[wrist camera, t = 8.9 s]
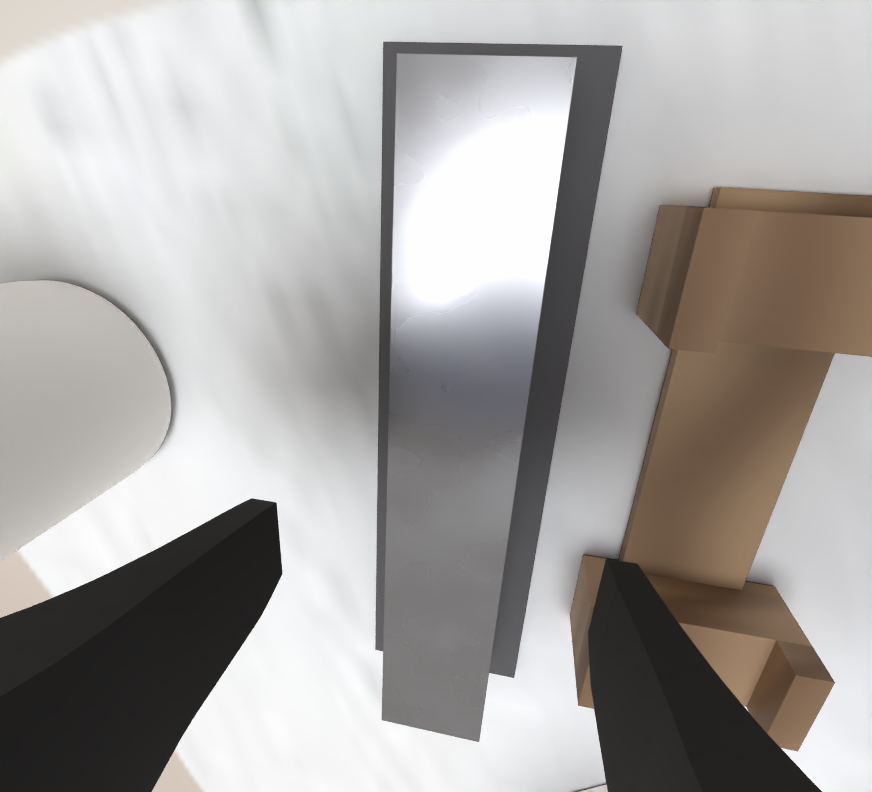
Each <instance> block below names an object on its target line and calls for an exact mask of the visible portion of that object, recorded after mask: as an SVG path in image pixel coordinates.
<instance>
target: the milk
mask: <svg viewBox="0 0 872 792" xmlns="http://www.w3.org/2000/svg"><path fill="white" fill-rule="evenodd" d="M579 792H608V790H607V784H606V785H602V786H598V787H594V788H591V789H587V790H583V791H579Z"/></svg>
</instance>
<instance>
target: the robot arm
mask: <svg viewBox="0 0 872 792" xmlns="http://www.w3.org/2000/svg"><path fill="white" fill-rule="evenodd" d="M281 575H282V564H281V552H280V540H279V528H278V516H277V503H275V502H270V501H264V500H258V499H250V500H247V501H245V502H243V503H241V504H239V505H237V506H235V507H234V508H232V509H230V510H228V511H226V512H224V513H222V514H221V515H219V516H217V517H215V518H213V519H211V520H210V521H208V522H206V523H204V524H202V525H201V526H199V527H197V528H195V529H193V530H191V531H190V532H188V533H186V534H184V535H182V536H180V537H178V538H177V539H175V540H173V541H171V542H169V543H167V544H166V545H164V546H162V547H160V548H158V549H156V550H154V551H152V552H150V553H148V554H146V555H144V556H142V557H140V558H138V559H136V560H134V561H132V562H130V563H128V564H126V565H124V566H122V567H120V568H118V569H116V570H114V571H112V572H110V573H108V574H106V575H104V576H102V577H99V578H97V579H95V580H93V581H91V582H88V583H86V584H84V585H82V586H80V587H77V588H75V589H73V590H70V591H68V592H65V593H63V594H61V595H58V596H56V597H54V598H51V599H49V600H46V601H44V602H42V603H39V604H37V605H34V606H32V607H29V608H27V609H24V610H21V611H18V612H15V613H13V614H10V615H7V616H4V617H2V618H0V792H151V791H152V790H153V788H154V786H155V784H156V782H157V781H158V779H159V777H160V775H161V773H162V772H163V770H164V768H165V766H166V764H167V763H168V761H169V759H170V757H171V755H172V754H173V752H174V750H175V748H176V746H177V745H178V743H179V741H180V739H181V737H182V736H183V734H184V732H185V731H186V729H187V728H188V726H189V724H190V723H191V721H192V719H193V718H194V716H195V715H196V713H197V712H198V710H199V709H200V707H201V706H202V704H203V703H204V701H205V700H206V698H207V697H208V695H209V694H210V692H211V691H212V689H213V688H214V686H215V685H216V683H217V682H218V680H219V679H220V677H221V676H222V674H223V673H224V671H225V670H226V668H227V667H228V665H229V664H230V662H231V661H232V659H233V658H234V656H235V655H236V653H237V652H238V650H239V649H240V647H241V646H242V644H243V643H244V641H245V640H246V638H247V637H248V635H249V634H250V632H251V631H252V629H253V628H254V626H255V625H256V623H257V622H258V620H259V618H260V617H261V615H262V613H263V611H264V610H265V608H266V606H267V604H268V602H269V600H270V598H271V596H272V594H273V592H274V590H275V588H276V586H277V584H278V582H279V580H280V577H281ZM588 646H589V667H590V684H591V691H592V697H593V704H594V710H595V716H596V722H597V729H598V735H599V741H600V747H601V753H602V759H603V765H604V771H605V778H606V784H607V790H608V792H822V791H821V790H820V789H819V788H818V787H817V786H816V785H815V784H814V783H813V782H812V781H811V780H810V779H809V778H808V777H807V776H806V775H805V774H804V773H803V772H802V770H801V769H800V768H799V767H798V766H797V765H796V764H795V763H794V762H793V761H792V760H791V759H790V758H789V756H788V755H787V754H786V753H785V752H784V751H783V750H782V749H781V748H780V747H779V746H778V745H777V744H776V742H775V741H774V740H773V739H772V738H771V737H770V736H769V735H768V734H767V733H766V732H765V730H764V729H763V728H762V727H761V726H760V725H759V724H758V722H757V721H756V720H755V719H754V718H753V717H752V716H751V714H750V713H749V712H748V711H747V710H746V709H745V707H744V706H743V705H742V704H741V702H740V701H739V700H738V699H737V698H736V696H735V695H734V694H733V693H732V692H731V690H730V689H729V688H728V687H727V686H726V684H725V683H724V682H723V681H722V679H721V678H720V677H719V675H718V674H717V673H716V672H715V670H714V669H713V668H712V667H711V665H710V664H709V663H708V661H707V660H706V659H705V657H704V656H703V655H702V653H701V652H700V651H699V649H698V648H697V647H696V645H695V644H694V643H693V641H692V640H691V639H690V637H689V636H688V635H687V633H686V632H685V631H684V629H683V628H682V627H681V625H680V624H679V622H678V621H677V620H676V618H675V617H674V615H673V614H672V613H671V611H670V610H669V608H668V607H667V605H666V604H665V603H664V601H663V600H662V598H661V597H660V595H659V594H658V592H657V591H656V590H655V588H654V587H653V585H652V584H651V582H650V581H649V579H648V578H647V576H646V575H645V574H644V572H643V571H642V569H641V568H640V567H639V565H638V564H636V563H630V562H624V561H618V560H612V559H607V558H606V560H605V564H604V569H603V573H602V577H601V581H600V585H599V589H598V593H597V597H596V601H595V606H594V610H593V614H592V618H591V622H590V626H589V630H588Z"/></svg>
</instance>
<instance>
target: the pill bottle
mask: <svg viewBox="0 0 872 792" xmlns="http://www.w3.org/2000/svg"><path fill="white" fill-rule="evenodd" d="M170 418H171V397H170V390H169V386H168V382H167V378H166V375H165V372H164V369H163V367H162V365H161V362H160V360H159V358H158V356H157V354H156V353H155V351H154V349H153V347H152V346H151V344H150V343H149V341H148V340H147V338H146V337H145V336H144V334H143V333H142V332H141V331H140V329H139V328H138V327H137V326H136V325H135V324H134V323H133V322H132V320H131V319H130V318H128V317H127V316H126V315H125V314H124V313H123V312H122V311H121V310H120V309H118V308H117V307H116V306H114V305H113V304H112V303H110V302H109V301H107V300H106V299H104V298H102V297H101V296H99V295H97V294H95V293H93V292H91V291H89V290H87V289H84V288H81V287H79V286H76V285H72V284H69V283H64V282H59V281H50V280H33V281H15V282H8V283H2V284H0V561H2V560H3V559H5V558H6V557H7V556H9V555H10V554H12V553H14V552H15V551H17V550H18V549H20V548H21V547H23V546H24V545H26V544H27V543H29V542H30V541H32V540H33V539H35V538H36V537H38V536H39V535H41V534H42V533H44V532H45V531H47V530H48V529H50V528H51V527H53V526H54V525H56V524H57V523H59V522H60V521H62V520H63V519H65V518H66V517H68V516H69V515H71V514H72V513H74V512H75V511H77V510H78V509H80V508H81V507H83V506H84V505H86V504H87V503H89V502H90V501H92V500H93V499H95V498H96V497H98V496H99V495H101V494H102V493H104V492H105V491H107V490H108V489H110V488H111V487H113V486H114V485H116V484H117V483H119V482H120V481H122V480H123V479H125V478H126V477H128V476H129V475H131V474H132V473H133V472H135V471H136V470H138V469H139V468H140V467H141V466H142V465H143V464H144V463H146V462H147V461H148V460H149V459H150V458H151V457H152V456H153V455H154V454H155V453H156V452H157V450H158V449H159V447H160V446H161V444H162V443H163V441H164V439H165V436H166V434H167V431H168V428H169V424H170Z"/></svg>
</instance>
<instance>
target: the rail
mask: <svg viewBox="0 0 872 792" xmlns="http://www.w3.org/2000/svg"><path fill="white" fill-rule="evenodd" d="M576 61H577V57H536V56H489V55H443V54H397V73H396V117H395V161H394V205H393V249H392V293H391V337H390V381H389V425H388V469H387V513H386V557H385V601H384V644H383V688H382V720H384V721H388V722H393V723H397V724H402V725H406V726H411V727H415V728H419V729H424V730H428V731H433V732H437V733H442V734H446V735H450V736H455V737H459V738H464V739H468V740H473V741H477V742H479V739H480V732H481V725H482V718H483V711H484V704H485V697H486V690H487V683H488V676H489V669H490V662H491V655H492V648H493V641H494V634H495V627H496V620H497V613H498V606H499V599H500V592H501V585H502V578H503V571H504V564H505V557H506V550H507V543H508V536H509V529H510V522H511V515H512V508H513V501H514V494H515V487H516V480H517V473H518V466H519V459H520V452H521V445H522V438H523V431H524V424H525V417H526V410H527V403H528V396H529V389H530V382H531V375H532V368H533V361H534V354H535V347H536V340H537V333H538V326H539V319H540V312H541V305H542V298H543V291H544V285H545V278H546V271H547V264H548V257H549V250H550V243H551V236H552V229H553V222H554V215H555V208H556V201H557V194H558V187H559V180H560V173H561V166H562V159H563V152H564V145H565V138H566V131H567V124H568V117H569V110H570V103H571V96H572V89H573V82H574V75H575V68H576Z"/></svg>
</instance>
